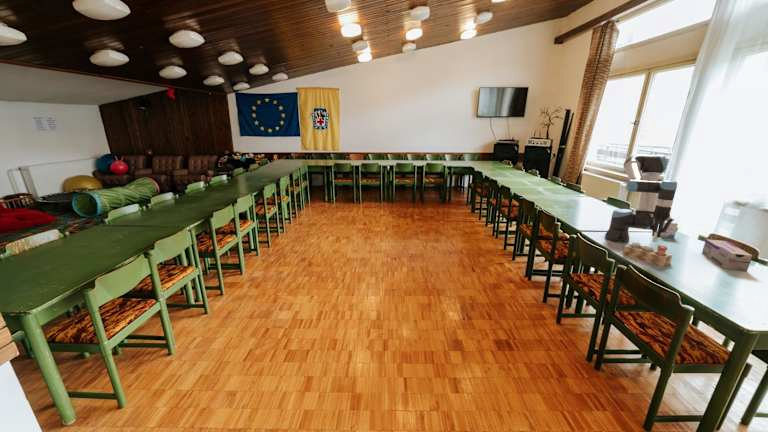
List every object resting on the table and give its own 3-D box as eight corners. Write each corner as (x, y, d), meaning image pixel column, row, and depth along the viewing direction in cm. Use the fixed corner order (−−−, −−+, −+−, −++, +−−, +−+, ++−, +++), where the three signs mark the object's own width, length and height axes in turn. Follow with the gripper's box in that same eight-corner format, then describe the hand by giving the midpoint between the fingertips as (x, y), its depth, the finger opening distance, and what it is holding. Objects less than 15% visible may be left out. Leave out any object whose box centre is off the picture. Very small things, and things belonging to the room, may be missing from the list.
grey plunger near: (628, 253, 213) (630, 243, 211) (631, 252, 215) (634, 242, 212) (635, 256, 209) (638, 245, 207) (639, 254, 211) (642, 244, 209)
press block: (622, 254, 213) (624, 246, 211) (630, 251, 217) (632, 243, 216) (662, 266, 194) (664, 257, 193) (670, 263, 199) (672, 254, 197)
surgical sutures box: (701, 253, 213) (706, 239, 209) (722, 256, 209) (727, 241, 206) (723, 269, 190) (728, 253, 187) (746, 272, 187) (752, 255, 183)
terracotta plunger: (653, 257, 200) (656, 246, 198) (657, 255, 202) (660, 244, 200) (662, 259, 196) (665, 248, 194) (666, 258, 198) (669, 247, 196)
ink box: (672, 236, 244) (676, 221, 241) (674, 238, 240) (678, 223, 237) (658, 234, 249) (662, 220, 246) (659, 236, 245) (663, 221, 242)
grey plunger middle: (639, 257, 207) (642, 246, 205) (643, 255, 209) (646, 245, 207) (648, 259, 203) (650, 249, 201) (651, 258, 205) (654, 247, 203)
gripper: (647, 204, 197) (639, 239, 204) (673, 208, 186) (663, 245, 192) (654, 202, 200) (646, 237, 207) (679, 207, 189) (670, 243, 195)
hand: (654, 241), depth 199 cm, fingers closed
